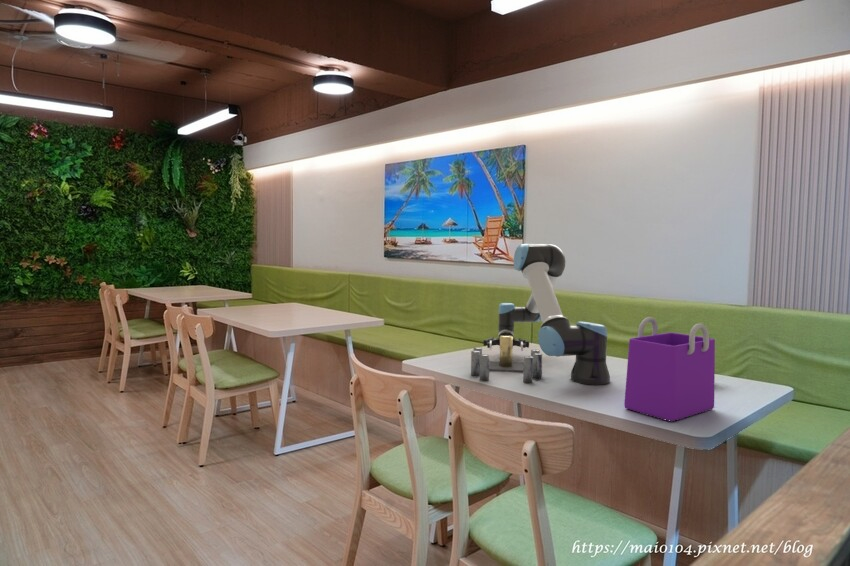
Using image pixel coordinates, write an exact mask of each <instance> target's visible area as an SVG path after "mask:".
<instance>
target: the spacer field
mask: <svg viewBox="0 0 850 566" xmlns="http://www.w3.org/2000/svg"><path fill="white" fill-rule="evenodd" d="M470 354H471V357H470V376H471V377H474V376H477V377H479V381H481V380H482V382H488V380H490V371H489V361H490V354H486V353H483V348H482V347H480V346H478V347H477V346H475V347H473V350H471V351H470ZM523 362H524V366H523V372H522V375H523V377H522V381H523V383H525V384H532V383H533V380H542V377H543V375H542V374H543V373H542V372H543V354H542V353H541V350H540V349H530V355H524V356H523Z"/></svg>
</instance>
